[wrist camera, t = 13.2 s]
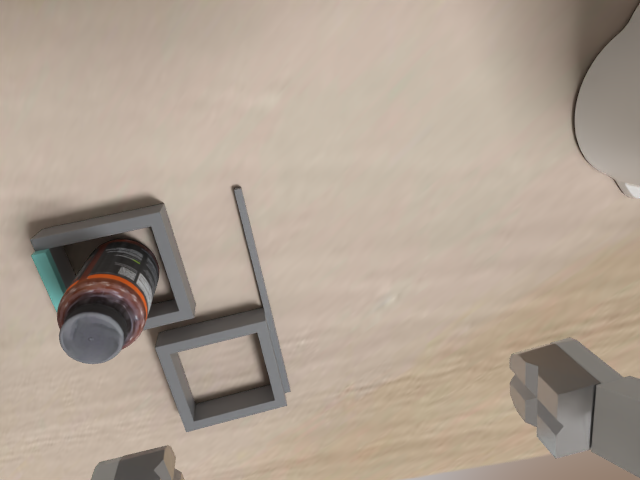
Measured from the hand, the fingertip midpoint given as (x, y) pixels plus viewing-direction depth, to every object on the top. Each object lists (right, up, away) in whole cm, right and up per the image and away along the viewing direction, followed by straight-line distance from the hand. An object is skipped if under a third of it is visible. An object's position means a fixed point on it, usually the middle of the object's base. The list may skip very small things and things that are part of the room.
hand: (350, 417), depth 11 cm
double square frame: (-14, -3, +32) cm, 35 cm away
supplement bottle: (-18, +2, +30) cm, 35 cm away
